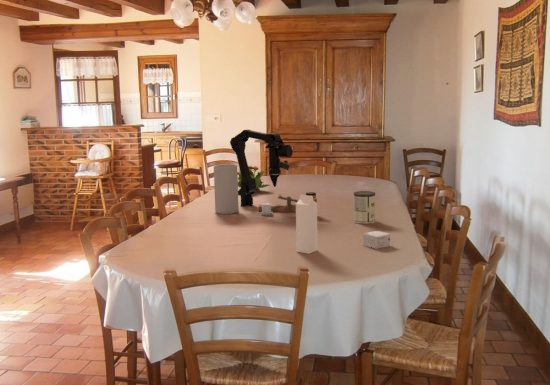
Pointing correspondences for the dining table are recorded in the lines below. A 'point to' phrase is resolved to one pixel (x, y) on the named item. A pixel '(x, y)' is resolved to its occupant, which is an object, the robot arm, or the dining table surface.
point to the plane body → (281, 206)
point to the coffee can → (364, 207)
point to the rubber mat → (265, 214)
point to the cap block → (266, 208)
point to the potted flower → (257, 177)
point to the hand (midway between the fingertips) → (274, 185)
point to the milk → (306, 224)
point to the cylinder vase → (226, 189)
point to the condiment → (313, 196)
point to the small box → (376, 239)
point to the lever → (286, 198)
